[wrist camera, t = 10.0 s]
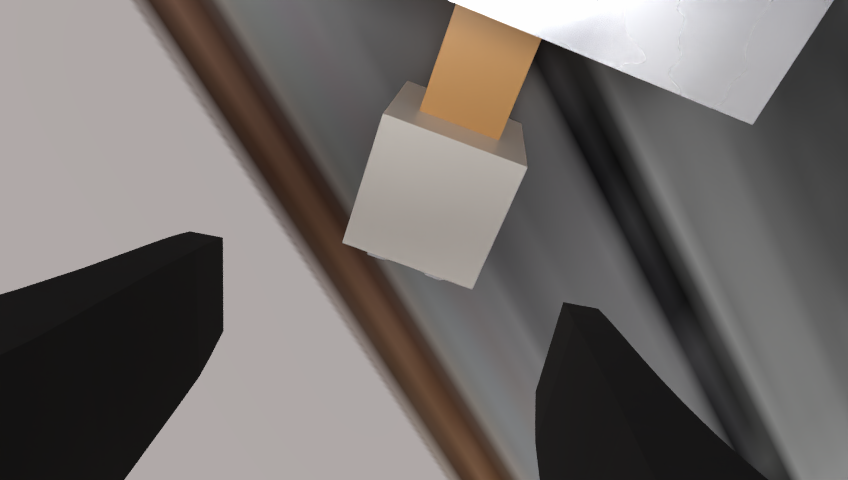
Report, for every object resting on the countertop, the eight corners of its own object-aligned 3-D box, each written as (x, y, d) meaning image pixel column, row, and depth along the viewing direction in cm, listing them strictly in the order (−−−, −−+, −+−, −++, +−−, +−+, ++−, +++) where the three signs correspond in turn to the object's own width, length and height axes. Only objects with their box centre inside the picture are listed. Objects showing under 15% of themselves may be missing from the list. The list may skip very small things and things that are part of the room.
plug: (723, -345, 14) (815, -468, 10) (465, 253, 21) (457, 321, 17) (567, -411, 14) (596, -565, 10) (363, 216, 21) (331, 276, 17)
